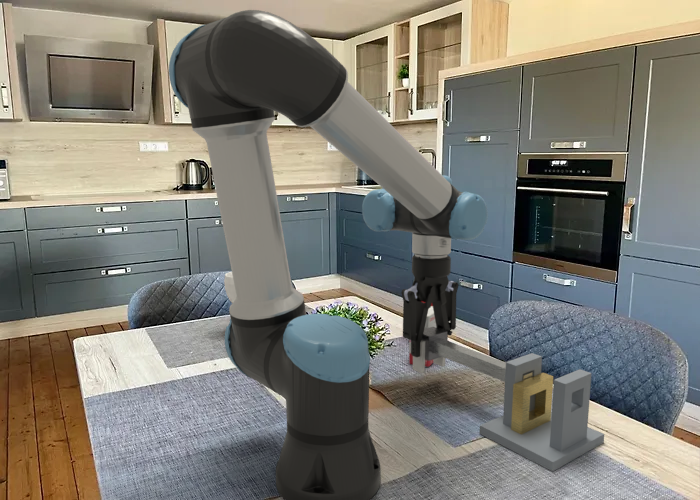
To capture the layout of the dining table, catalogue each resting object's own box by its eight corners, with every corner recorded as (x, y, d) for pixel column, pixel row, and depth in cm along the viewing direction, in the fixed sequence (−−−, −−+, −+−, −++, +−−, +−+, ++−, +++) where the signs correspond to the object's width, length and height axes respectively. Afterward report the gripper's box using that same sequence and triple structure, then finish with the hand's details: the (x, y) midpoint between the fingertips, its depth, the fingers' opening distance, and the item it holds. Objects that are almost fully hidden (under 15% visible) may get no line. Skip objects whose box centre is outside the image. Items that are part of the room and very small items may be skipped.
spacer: (521, 434, 90) (523, 388, 89) (511, 429, 92) (513, 384, 91) (550, 420, 95) (553, 376, 94) (540, 416, 97) (543, 372, 95)
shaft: (517, 398, 92) (519, 370, 91) (414, 355, 112) (415, 331, 111) (536, 390, 95) (537, 363, 94) (432, 349, 115) (433, 326, 114)
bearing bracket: (552, 471, 83) (557, 392, 80) (479, 433, 94) (482, 363, 92) (603, 442, 91) (609, 370, 88) (530, 410, 102) (534, 345, 100)
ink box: (428, 368, 122) (429, 316, 120) (407, 364, 124) (407, 313, 122) (442, 356, 129) (443, 306, 127) (421, 352, 132) (422, 304, 130)
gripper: (409, 263, 100) (408, 384, 104) (477, 252, 111) (473, 363, 115) (383, 257, 106) (382, 372, 110) (449, 247, 117) (447, 352, 121)
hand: (429, 367), depth 113 cm, fingers closed on shaft, 5 cm apart
